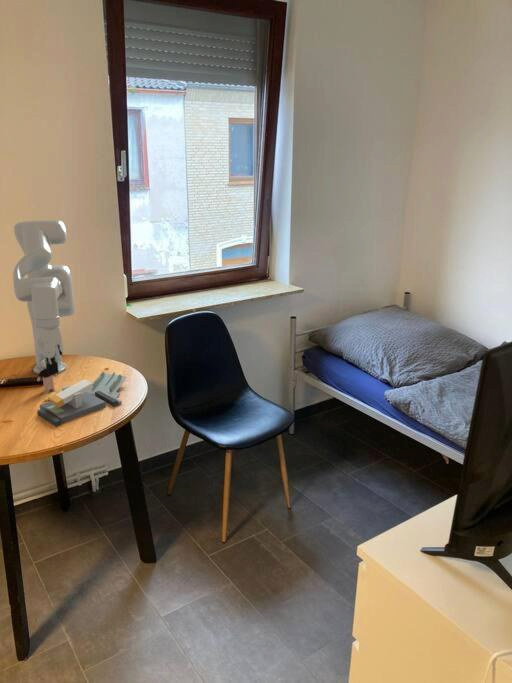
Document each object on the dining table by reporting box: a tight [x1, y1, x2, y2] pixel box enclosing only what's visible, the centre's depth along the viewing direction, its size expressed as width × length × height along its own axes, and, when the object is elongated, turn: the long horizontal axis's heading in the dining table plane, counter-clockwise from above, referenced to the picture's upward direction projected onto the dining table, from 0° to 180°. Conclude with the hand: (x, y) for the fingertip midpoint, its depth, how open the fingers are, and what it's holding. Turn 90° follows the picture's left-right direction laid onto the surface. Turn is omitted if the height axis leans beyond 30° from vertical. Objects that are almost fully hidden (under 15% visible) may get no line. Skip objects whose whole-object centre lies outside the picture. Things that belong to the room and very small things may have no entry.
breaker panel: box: [39, 385, 107, 425], centre depth 188 cm, size 14×17×7 cm
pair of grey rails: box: [37, 391, 123, 428], centre depth 188 cm, size 13×25×2 cm, turn 138°
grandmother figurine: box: [36, 360, 58, 394], centre depth 199 cm, size 8×4×13 cm, turn 148°
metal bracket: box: [87, 371, 127, 399], centre depth 204 cm, size 14×6×15 cm
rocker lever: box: [48, 378, 94, 408], centre depth 187 cm, size 6×14×2 cm, turn 138°
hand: (52, 373), depth 180 cm, fingers closed
